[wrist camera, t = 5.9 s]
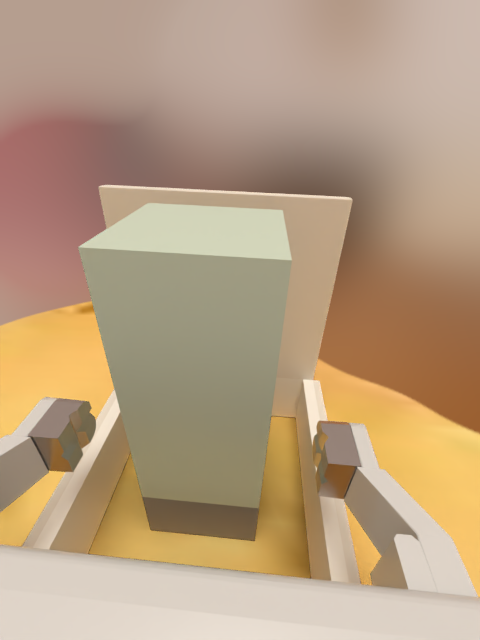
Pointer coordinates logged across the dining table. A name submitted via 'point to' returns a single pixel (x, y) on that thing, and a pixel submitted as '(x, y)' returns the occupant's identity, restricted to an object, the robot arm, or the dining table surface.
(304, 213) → the white backed tray
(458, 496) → the dining table surface
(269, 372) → the sage box
